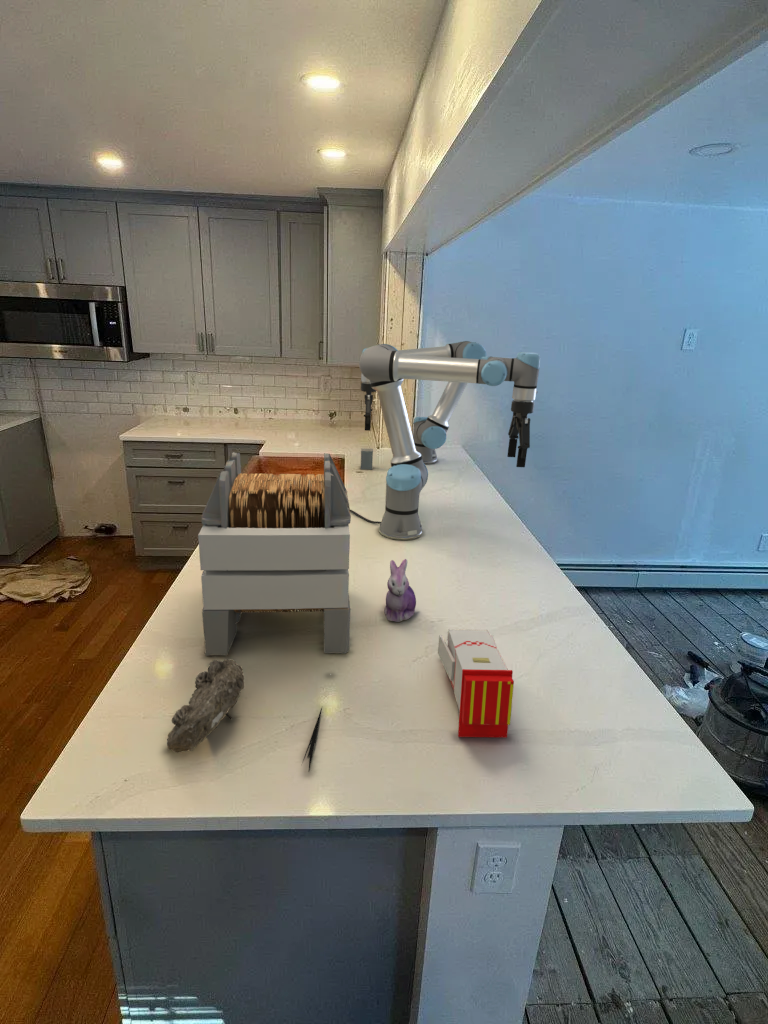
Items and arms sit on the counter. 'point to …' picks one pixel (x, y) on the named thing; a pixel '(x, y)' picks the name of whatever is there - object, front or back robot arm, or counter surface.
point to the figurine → (399, 594)
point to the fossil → (206, 705)
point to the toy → (478, 682)
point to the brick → (366, 459)
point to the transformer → (275, 551)
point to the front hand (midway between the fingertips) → (515, 461)
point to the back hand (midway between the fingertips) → (367, 427)
